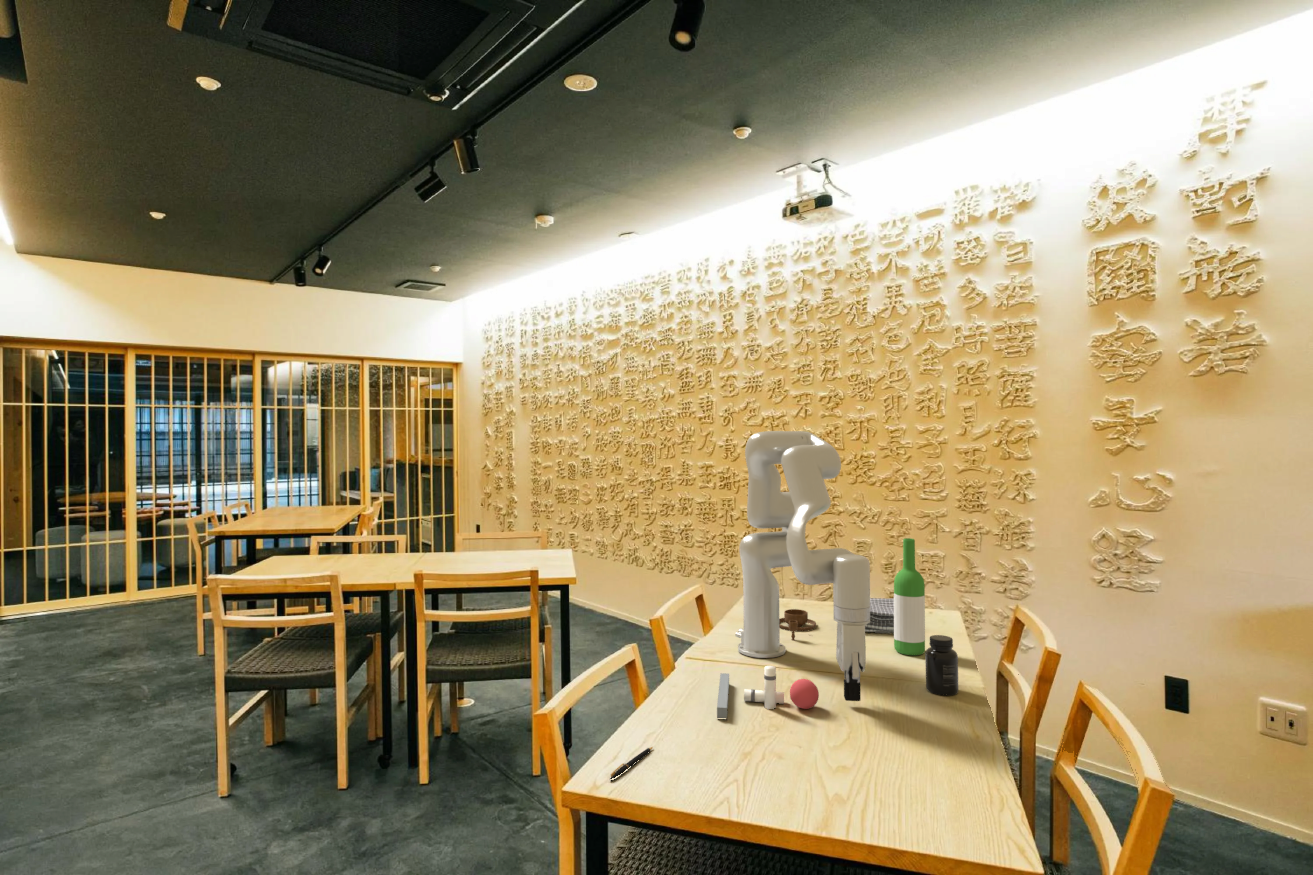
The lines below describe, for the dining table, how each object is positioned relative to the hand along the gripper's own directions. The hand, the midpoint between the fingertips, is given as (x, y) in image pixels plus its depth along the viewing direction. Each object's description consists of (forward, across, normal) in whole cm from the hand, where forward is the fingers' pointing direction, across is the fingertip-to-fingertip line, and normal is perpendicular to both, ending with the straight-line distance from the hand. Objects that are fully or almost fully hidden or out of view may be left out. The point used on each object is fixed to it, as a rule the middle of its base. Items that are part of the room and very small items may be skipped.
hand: (852, 699), depth 146 cm
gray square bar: (+2, 0, -27) cm, 27 cm away
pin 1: (0, 0, -14) cm, 14 cm away
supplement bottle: (+2, -11, +21) cm, 24 cm away
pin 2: (+2, +2, -17) cm, 18 cm away
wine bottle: (+2, -39, +21) cm, 44 cm away
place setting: (+2, -58, -10) cm, 58 cm away
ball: (-2, +2, -10) cm, 10 cm away
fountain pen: (+2, +31, -42) cm, 52 cm away
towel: (+2, -62, +15) cm, 64 cm away
